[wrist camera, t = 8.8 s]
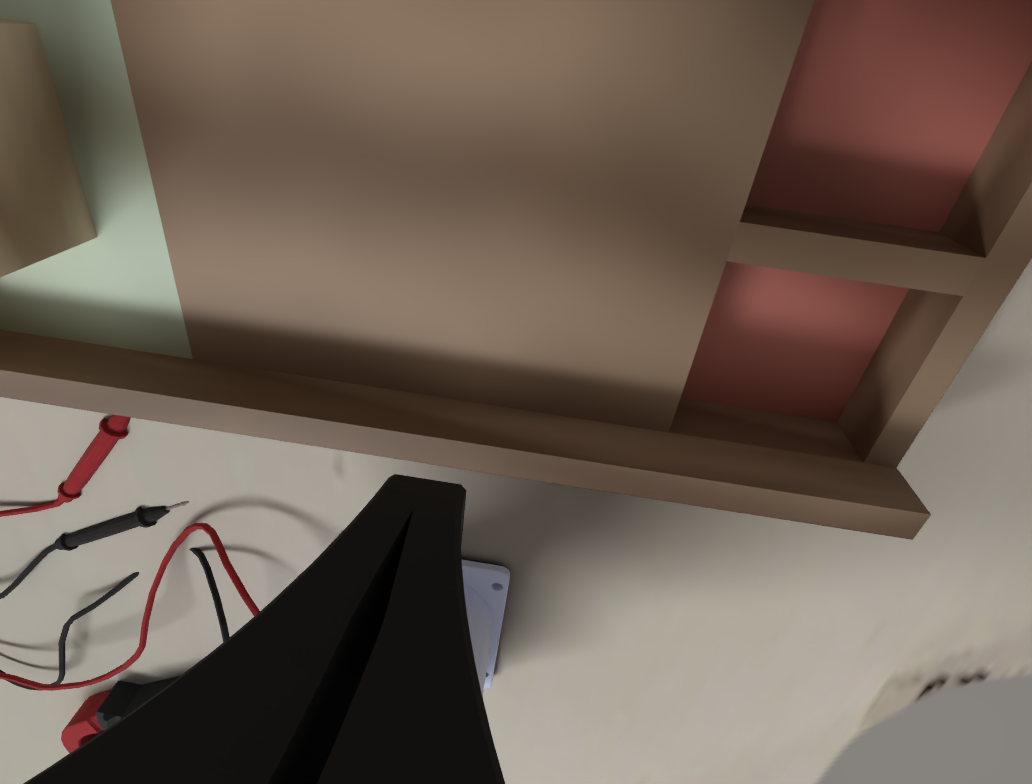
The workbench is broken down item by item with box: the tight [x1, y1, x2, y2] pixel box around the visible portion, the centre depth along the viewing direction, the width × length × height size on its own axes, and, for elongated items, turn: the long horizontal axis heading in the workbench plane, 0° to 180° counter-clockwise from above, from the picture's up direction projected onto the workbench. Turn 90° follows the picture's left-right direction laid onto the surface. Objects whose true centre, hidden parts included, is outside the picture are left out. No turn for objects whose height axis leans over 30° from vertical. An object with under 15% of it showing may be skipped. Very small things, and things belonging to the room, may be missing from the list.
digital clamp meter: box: [0, 415, 260, 753], centre depth 29 cm, size 23×4×25 cm
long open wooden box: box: [0, 0, 1032, 540], centre depth 14 cm, size 14×30×4 cm, turn 83°
